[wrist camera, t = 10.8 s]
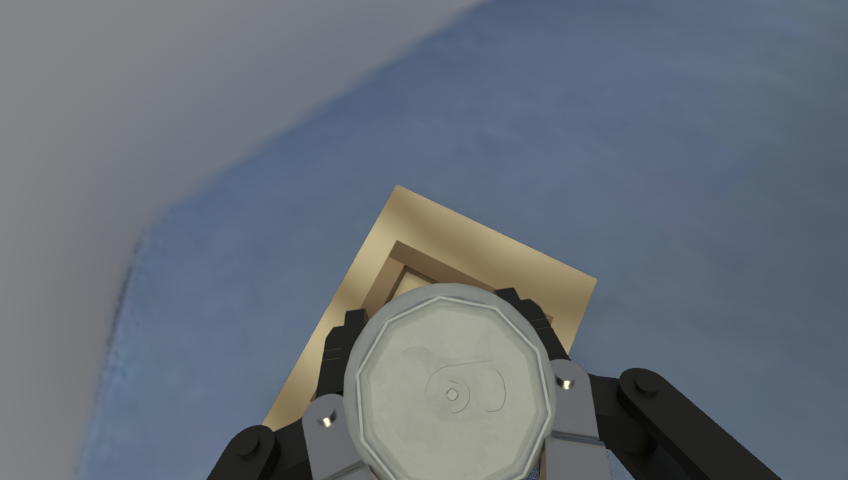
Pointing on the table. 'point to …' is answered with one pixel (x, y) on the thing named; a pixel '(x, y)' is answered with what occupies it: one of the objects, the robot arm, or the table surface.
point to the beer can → (449, 388)
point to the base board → (434, 281)
